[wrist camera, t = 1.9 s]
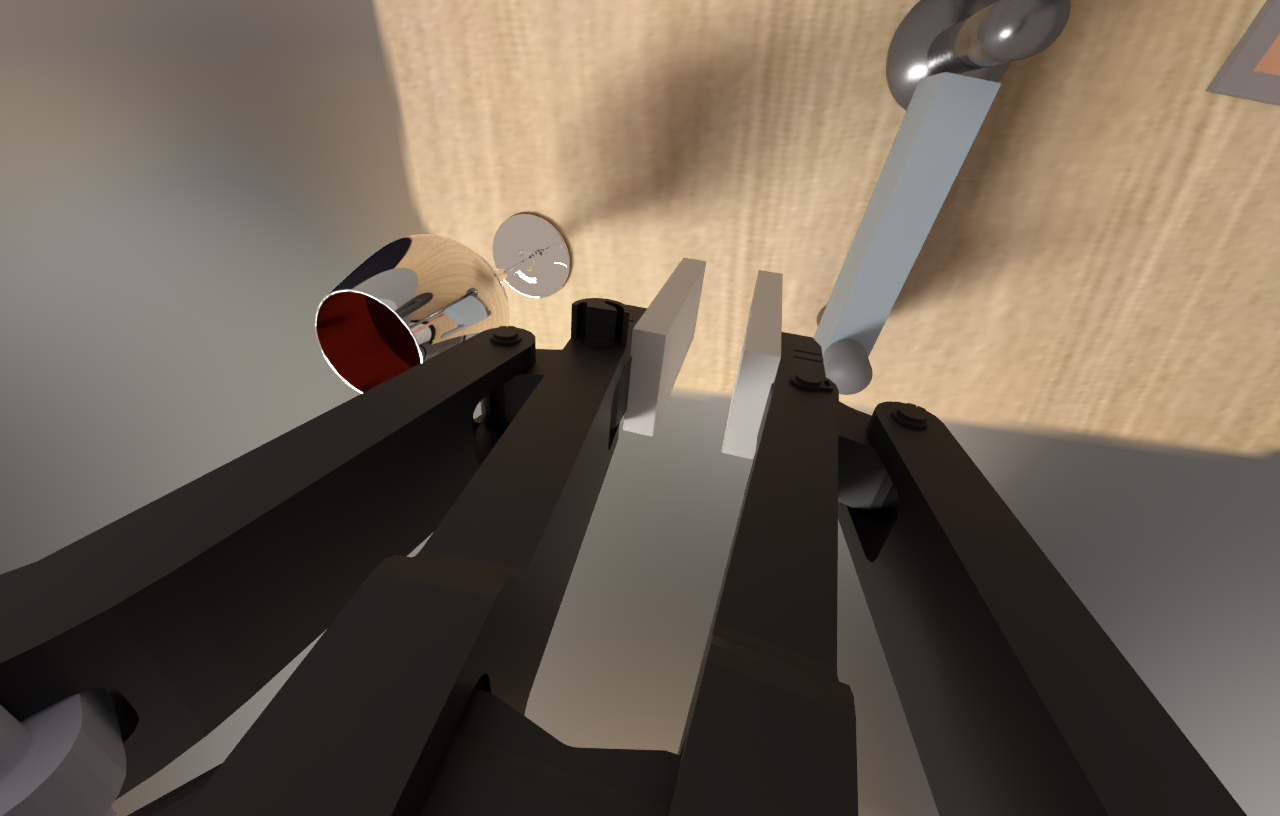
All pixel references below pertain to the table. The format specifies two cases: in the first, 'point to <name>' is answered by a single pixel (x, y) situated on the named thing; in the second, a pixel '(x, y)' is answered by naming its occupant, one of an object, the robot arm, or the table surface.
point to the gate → (899, 220)
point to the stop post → (1254, 61)
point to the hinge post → (969, 39)
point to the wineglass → (432, 297)
